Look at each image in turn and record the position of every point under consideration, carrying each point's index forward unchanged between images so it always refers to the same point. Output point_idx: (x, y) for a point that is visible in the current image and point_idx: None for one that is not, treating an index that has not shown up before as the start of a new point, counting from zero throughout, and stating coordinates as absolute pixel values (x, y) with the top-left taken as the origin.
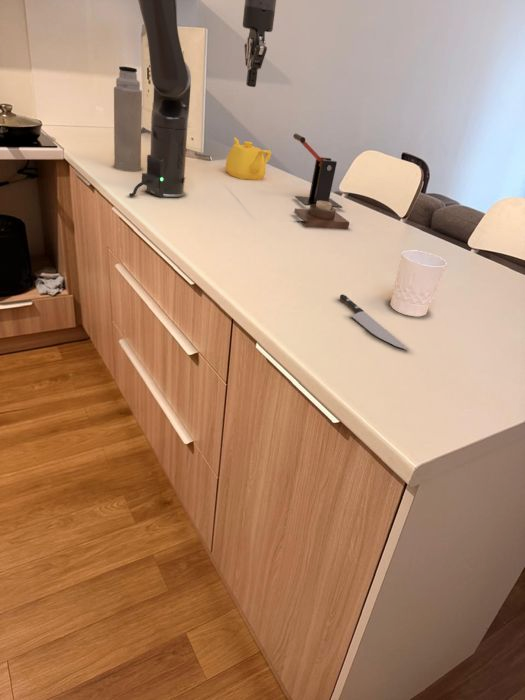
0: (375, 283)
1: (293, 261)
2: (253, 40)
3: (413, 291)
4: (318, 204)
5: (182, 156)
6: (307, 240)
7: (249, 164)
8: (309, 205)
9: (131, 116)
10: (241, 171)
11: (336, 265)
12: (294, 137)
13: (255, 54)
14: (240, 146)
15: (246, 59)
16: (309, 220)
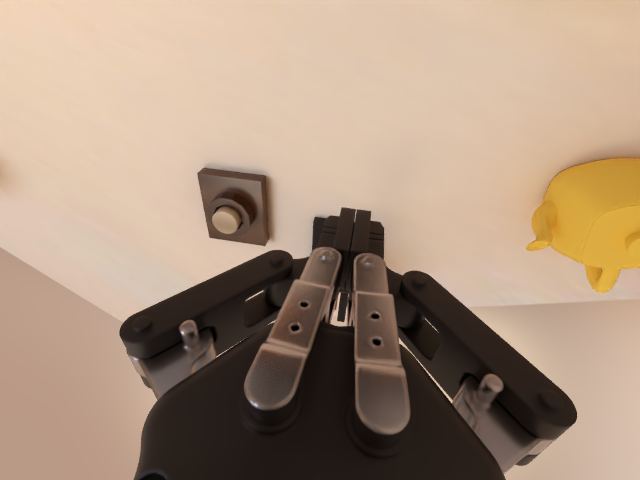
0: (13, 156)
1: (28, 68)
2: (245, 399)
3: None
4: (219, 210)
5: None
6: (137, 139)
7: (559, 208)
8: (313, 227)
9: None
10: (559, 180)
11: (49, 134)
12: (346, 279)
13: (180, 293)
14: None
15: (427, 300)
16: (198, 176)
